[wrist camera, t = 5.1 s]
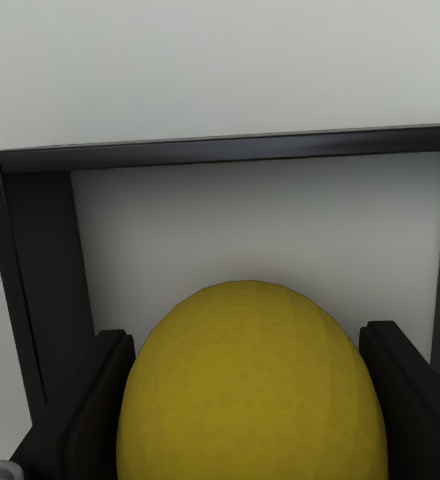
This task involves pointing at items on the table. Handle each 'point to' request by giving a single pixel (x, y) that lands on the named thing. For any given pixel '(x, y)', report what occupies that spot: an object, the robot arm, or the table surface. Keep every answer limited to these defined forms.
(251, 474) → the lemon
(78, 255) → the black square frame
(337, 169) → the table surface
